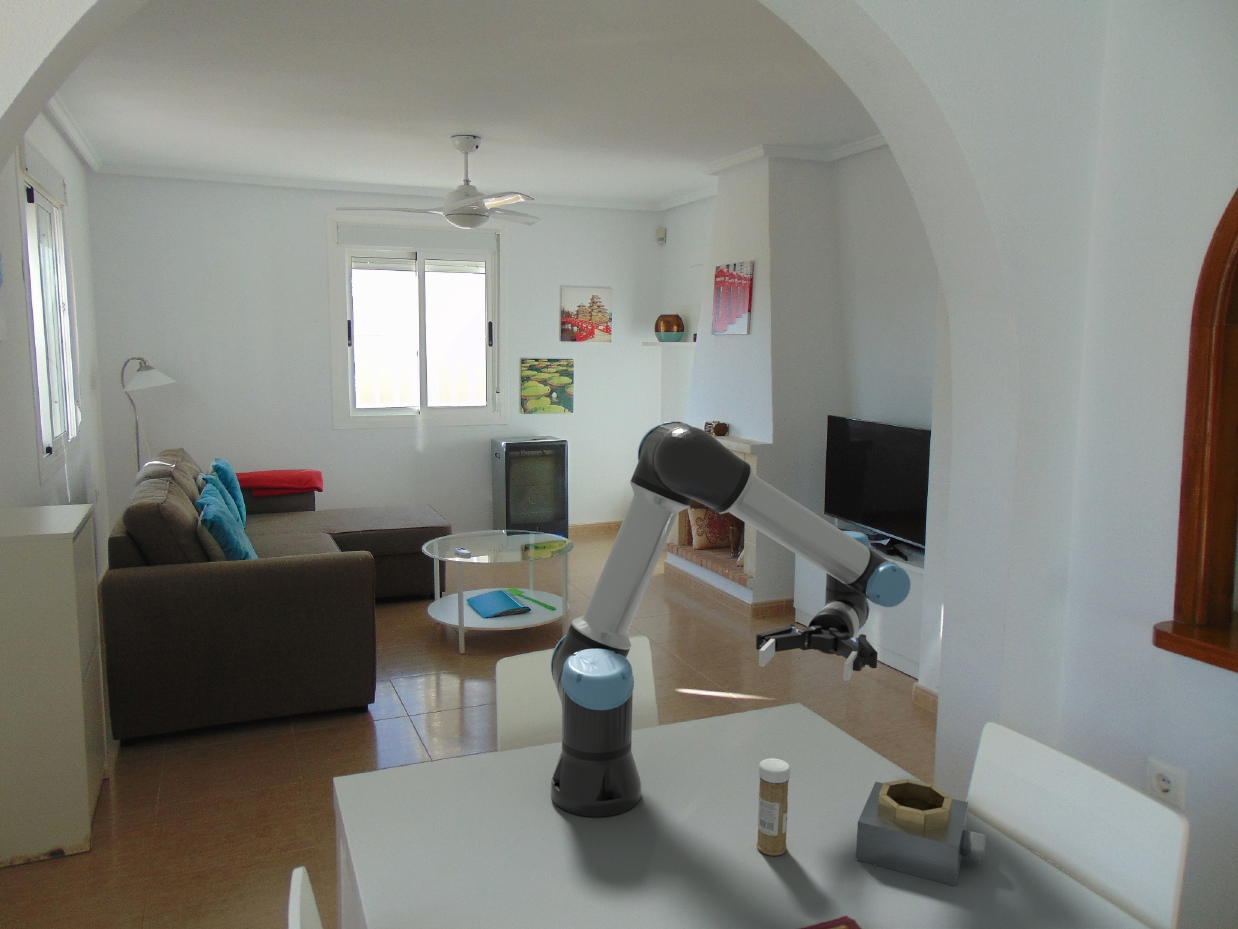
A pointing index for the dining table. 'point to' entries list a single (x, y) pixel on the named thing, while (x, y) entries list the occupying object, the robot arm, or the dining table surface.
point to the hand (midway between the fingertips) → (802, 665)
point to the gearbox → (916, 831)
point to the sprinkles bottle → (773, 806)
